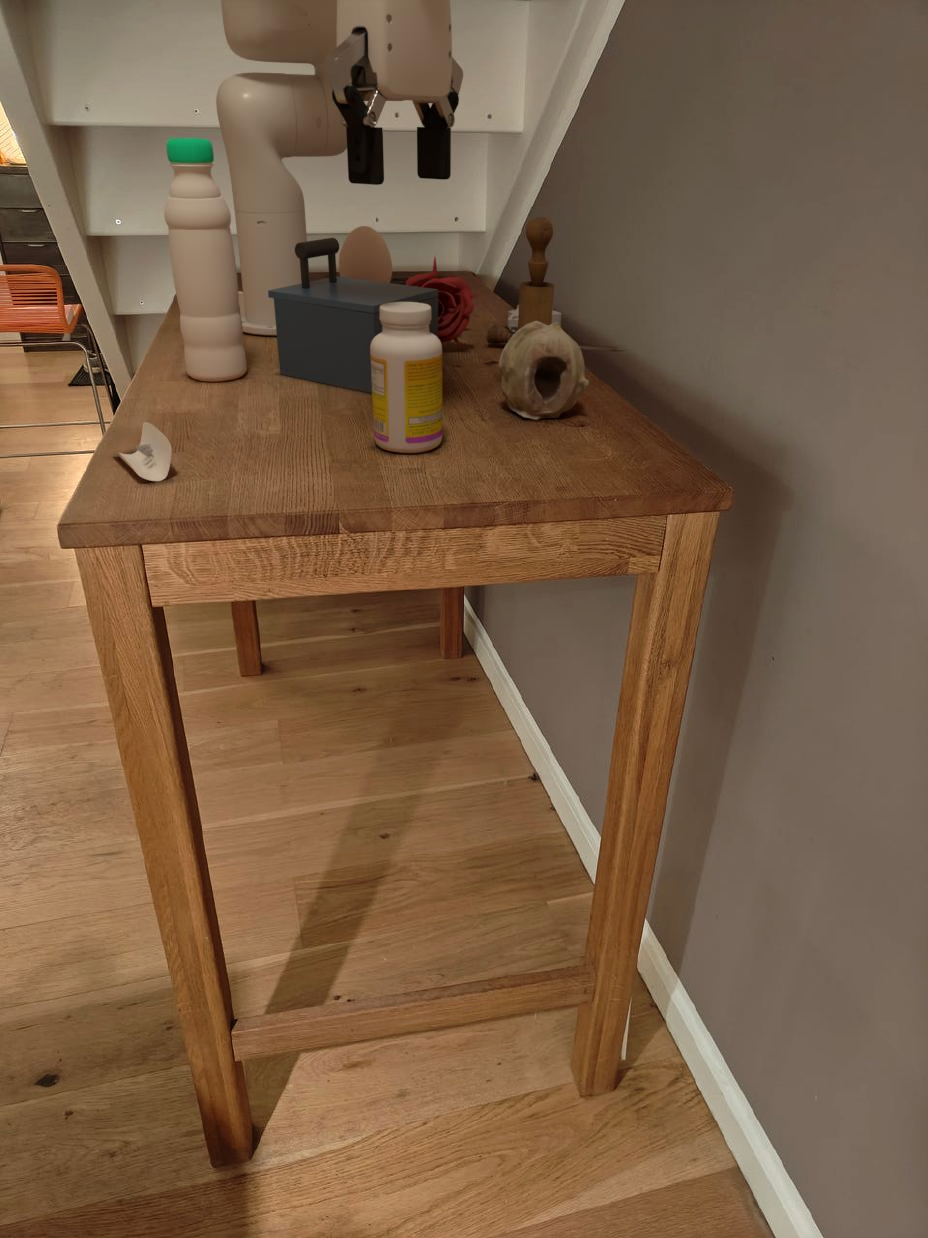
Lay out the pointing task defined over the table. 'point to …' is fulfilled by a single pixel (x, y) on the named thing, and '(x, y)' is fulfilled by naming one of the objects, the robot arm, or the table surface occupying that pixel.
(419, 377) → the supplement bottle
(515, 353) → the cream hollow lumpy ball
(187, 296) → the water bottle
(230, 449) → the table surface
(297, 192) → the robot arm
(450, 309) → the flower
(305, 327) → the chest
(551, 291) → the mortar and pestle
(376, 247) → the egg
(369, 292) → the lid
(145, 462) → the white curved plate
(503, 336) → the machete
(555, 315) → the zipper pull
